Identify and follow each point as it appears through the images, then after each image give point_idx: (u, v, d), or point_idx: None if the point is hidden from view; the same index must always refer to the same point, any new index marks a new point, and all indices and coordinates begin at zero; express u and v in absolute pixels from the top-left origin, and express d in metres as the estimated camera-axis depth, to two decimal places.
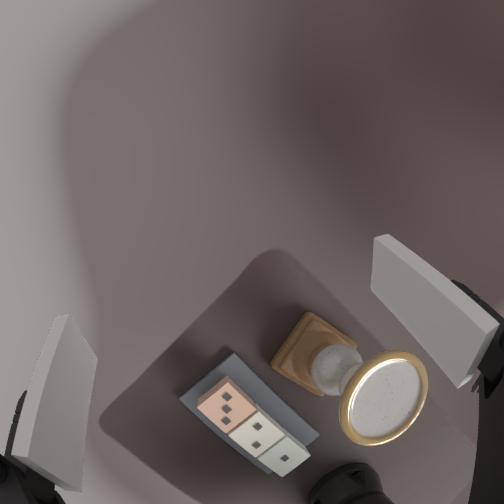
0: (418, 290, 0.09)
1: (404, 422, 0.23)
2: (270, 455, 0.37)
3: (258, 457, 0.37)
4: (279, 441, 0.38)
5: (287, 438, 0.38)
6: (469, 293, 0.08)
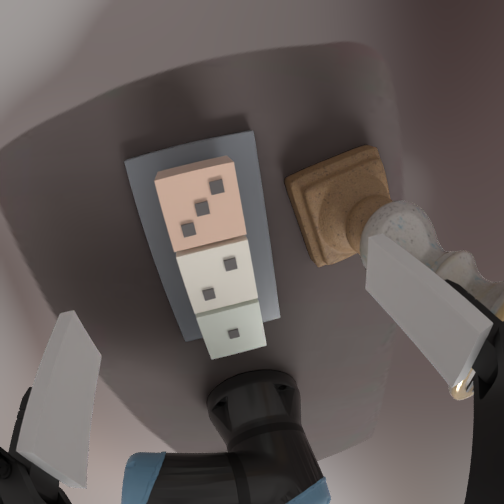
0: (412, 289, 0.09)
1: None
2: (217, 320, 0.27)
3: (198, 315, 0.27)
4: (242, 304, 0.27)
5: (257, 305, 0.27)
6: (463, 292, 0.08)
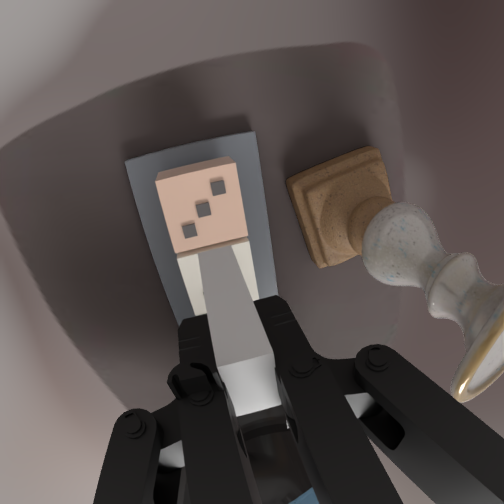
0: None
1: (487, 380, 0.13)
2: None
3: None
4: None
5: None
6: (284, 311, 0.10)
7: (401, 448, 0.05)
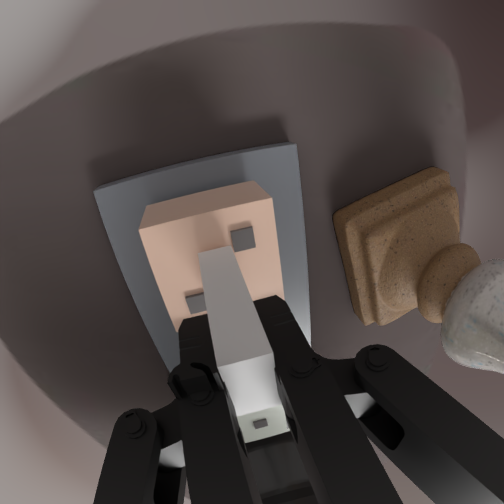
0: None
1: None
2: None
3: None
4: None
5: None
6: (284, 311, 0.10)
7: (401, 448, 0.05)
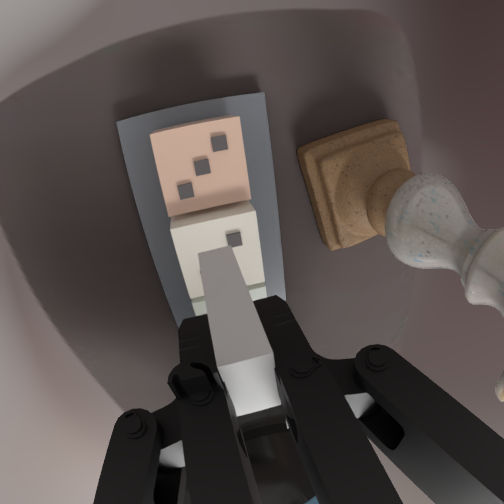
0: None
1: None
2: None
3: (194, 300, 0.23)
4: None
5: (263, 290, 0.24)
6: (284, 311, 0.10)
7: (401, 448, 0.05)
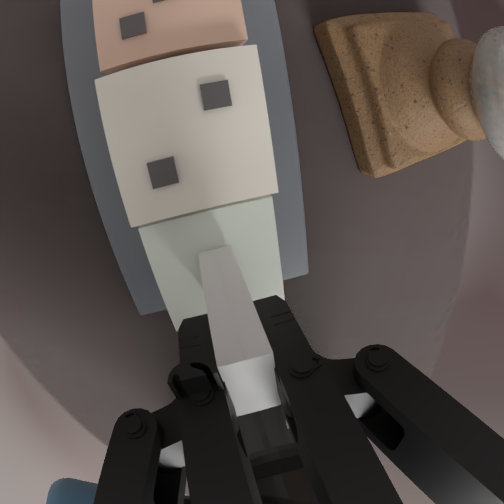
0: None
1: None
2: (184, 236, 0.13)
3: (143, 225, 0.12)
4: (238, 201, 0.13)
5: (268, 204, 0.13)
6: (284, 311, 0.10)
7: (401, 448, 0.05)
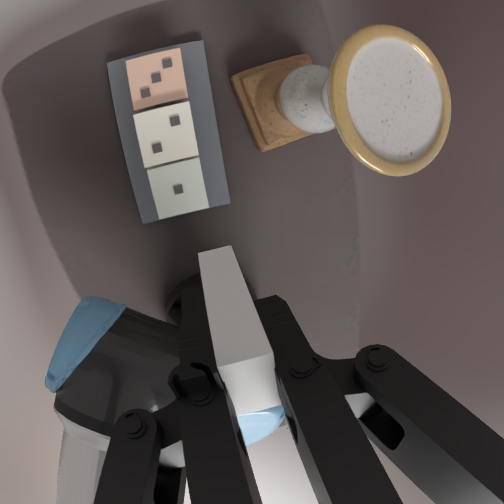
0: None
1: (401, 161, 0.17)
2: (164, 173, 0.31)
3: (149, 169, 0.31)
4: (186, 160, 0.31)
5: (197, 160, 0.31)
6: (284, 311, 0.10)
7: (401, 448, 0.05)
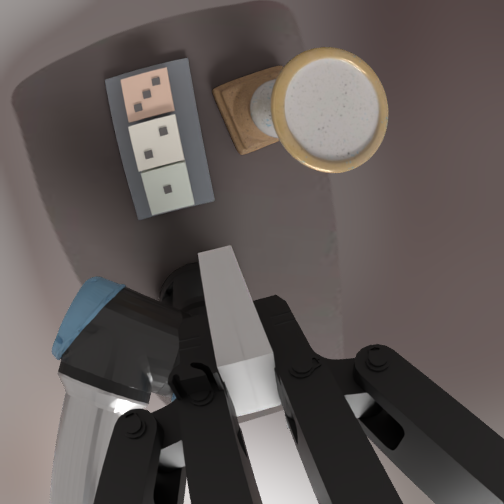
0: None
1: (339, 160, 0.22)
2: (155, 176, 0.36)
3: (142, 172, 0.36)
4: (174, 164, 0.36)
5: (183, 164, 0.36)
6: (284, 311, 0.10)
7: (401, 448, 0.05)
